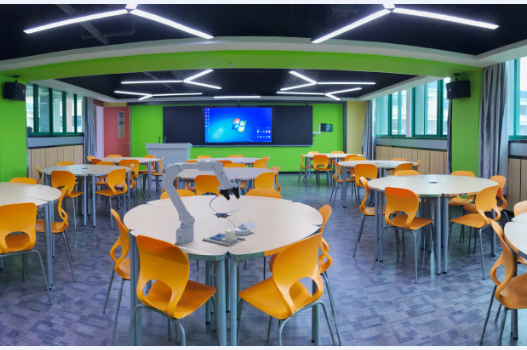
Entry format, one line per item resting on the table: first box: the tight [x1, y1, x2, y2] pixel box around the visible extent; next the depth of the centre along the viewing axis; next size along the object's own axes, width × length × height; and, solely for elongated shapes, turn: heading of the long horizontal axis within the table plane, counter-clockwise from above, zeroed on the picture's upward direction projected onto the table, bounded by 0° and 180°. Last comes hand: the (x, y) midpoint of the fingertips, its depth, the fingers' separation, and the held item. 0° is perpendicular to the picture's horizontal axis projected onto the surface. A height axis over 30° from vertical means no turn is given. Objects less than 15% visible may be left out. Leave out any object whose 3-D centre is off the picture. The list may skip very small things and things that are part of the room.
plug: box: [224, 229, 235, 240], centre depth 187 cm, size 3×3×6 cm
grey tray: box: [202, 232, 246, 248], centre depth 190 cm, size 14×20×3 cm
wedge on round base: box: [234, 220, 258, 236], centre depth 205 cm, size 9×7×13 cm
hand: (233, 198), depth 202 cm, fingers open, 7 cm apart
